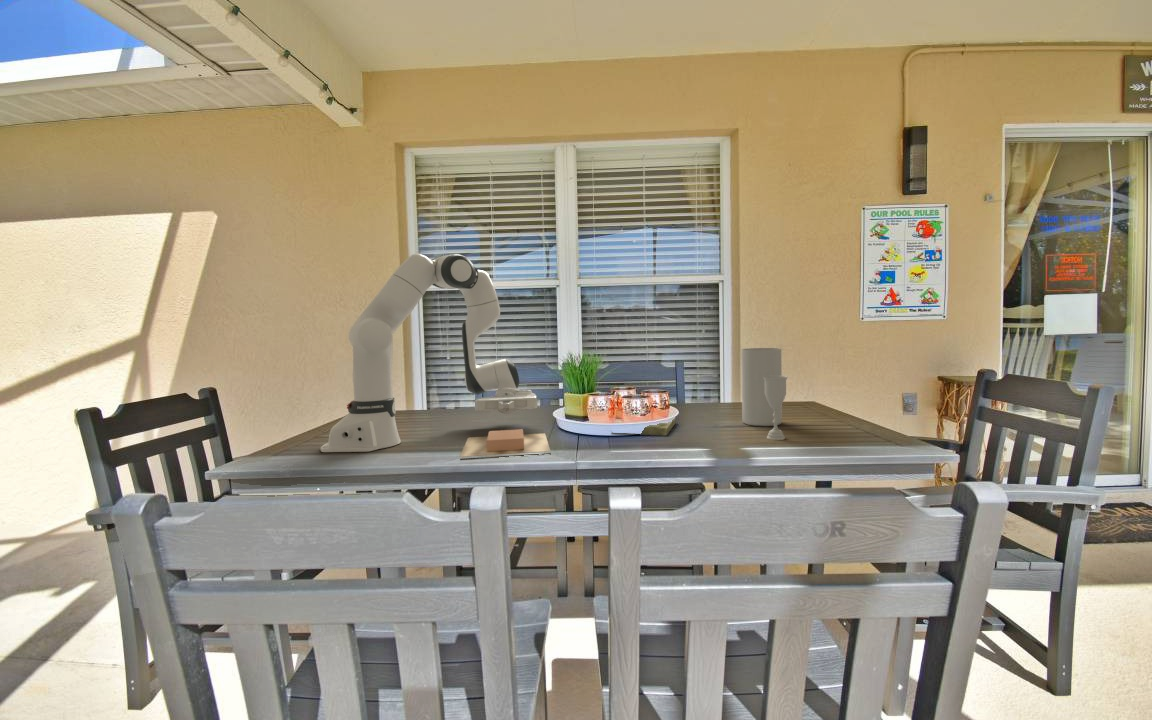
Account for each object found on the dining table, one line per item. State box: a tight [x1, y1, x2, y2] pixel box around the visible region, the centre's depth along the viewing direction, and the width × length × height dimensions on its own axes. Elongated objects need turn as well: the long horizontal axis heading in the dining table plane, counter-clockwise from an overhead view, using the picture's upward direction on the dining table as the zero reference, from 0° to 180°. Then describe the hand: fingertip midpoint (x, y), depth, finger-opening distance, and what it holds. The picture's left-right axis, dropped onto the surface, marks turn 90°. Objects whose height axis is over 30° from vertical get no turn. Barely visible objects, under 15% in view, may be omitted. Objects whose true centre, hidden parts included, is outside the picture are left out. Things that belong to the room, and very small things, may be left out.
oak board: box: [459, 433, 551, 461], centre depth 147 cm, size 24×24×1 cm
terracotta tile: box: [487, 428, 524, 451], centre depth 145 cm, size 10×3×13 cm
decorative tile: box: [640, 417, 676, 437], centre depth 168 cm, size 19×20×4 cm
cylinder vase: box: [740, 347, 783, 427], centre depth 169 cm, size 12×12×25 cm
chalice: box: [763, 375, 789, 441], centre depth 147 cm, size 7×7×18 cm
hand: (506, 406), depth 159 cm, fingers closed
